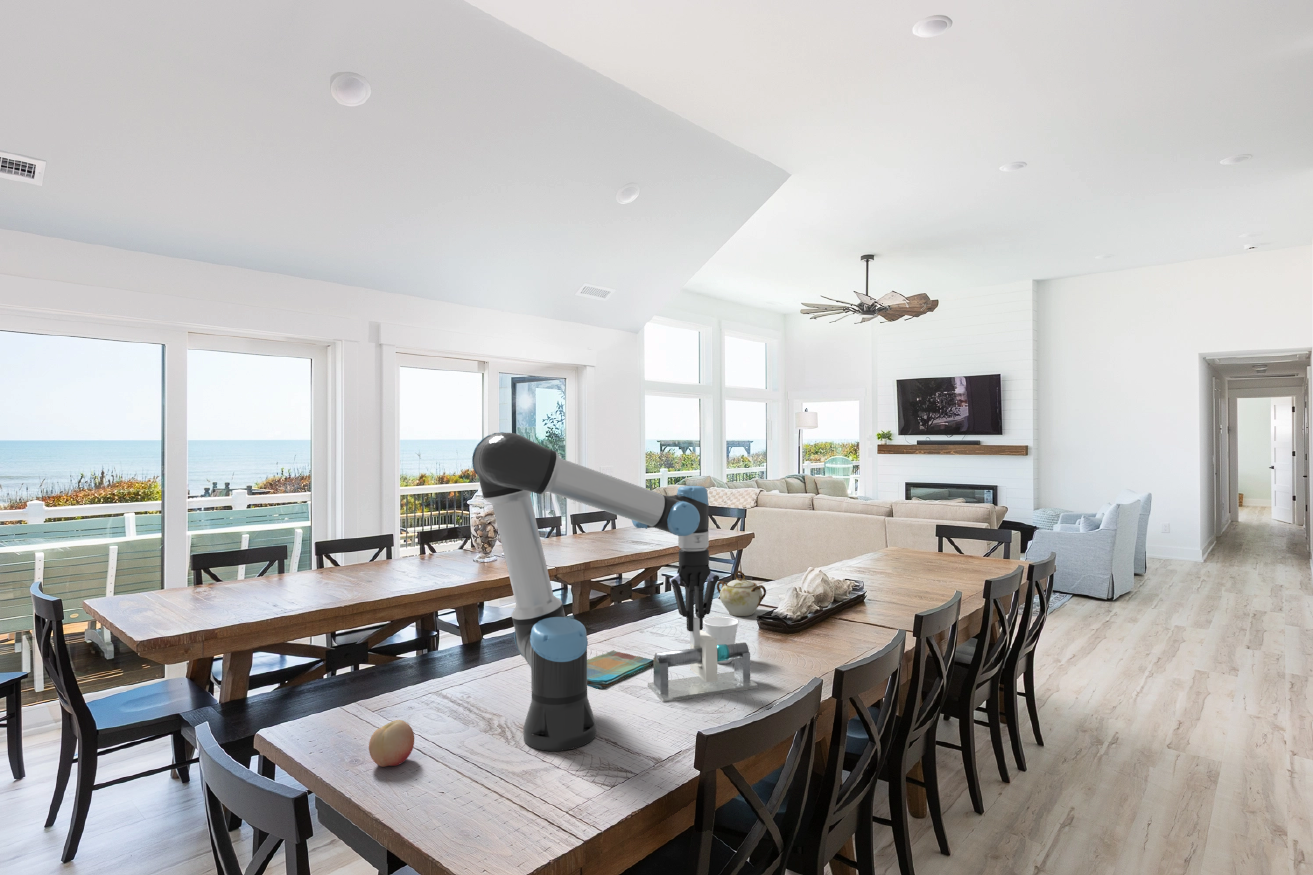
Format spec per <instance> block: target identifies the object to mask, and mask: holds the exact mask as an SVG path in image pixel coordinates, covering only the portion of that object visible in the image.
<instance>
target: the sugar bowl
mask: <svg viewBox="0 0 1313 875" xmlns="http://www.w3.org/2000/svg"><path fill="white" fill-rule="evenodd" d="M738 574H740V575H741V576H742V577H740V578H739V576H738ZM734 576H735V579H734V580H731V581H729V582H727V581H724V580H720V581H719V580H718V582H717V583H716V589H717V591H718V593H719V599H720V601H721V603H722V605H723V606H724V608H725V609H726V610H727V612H728V613H729V615H731V616H736V617H749V616H752V615H755V614H754V613H755V611H756V610H758V607H759V606H760V605H761V602H762V601H763V600H764V598H765V597H766V595H767V589H766V587H765V586H764V585H762V584H761V585H760V584H759V585H757V583H756V582H753V581H751V580H748V579H746V575H745V573H744V572H742V571H741V570H737V571H736V572H735V575H734ZM720 585H721V588H720Z"/></svg>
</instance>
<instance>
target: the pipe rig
mask: <svg viewBox="0 0 1313 875" xmlns="http://www.w3.org/2000/svg"><path fill="white" fill-rule="evenodd" d="M653 656H654V657H653V658H652V659H653V666H652V667H653V682H648V683H647V687H648V688H649V689H650V690H651V691H652V693H653V694H655V695H656V696H657V698H659V700H660V701H661V702H662V703H665V702H666V703H667V702H672V701H673V702H674V701H679V700H687V699H692V698H699V697H705V696H706V697H708V696H712V695H719V694H726V693H727V694H728V693H733V692H734V693H735V692H740V691H741V692H742V691H747V690H755V689H758V688H759V685H758V684H757V683H756V682H755V681H753V680H751V652H750V649H749V645H748V644H747V642H737V643H736V642H735V644H727V645H726V644H721V645H717V662H719V661H727V660H728V659H732V660H733V663H734V664H733V665H734V666H733V669H734V671H727V672H720V673H717V681H713V682H705V681H704V680H703V679H701V678H700V677H699V676H698V675H696V676H691V677H690V676H689V677H685V678H683V677H681V678H677V679H670V680H669V668H672V667H680V666H687V665H688V666H690V664H697V663H702V648H694V649H690V648H688V649H679V650H672V651H663V652H655V654H654V655H653Z"/></svg>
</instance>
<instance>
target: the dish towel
mask: <svg viewBox="0 0 1313 875" xmlns="http://www.w3.org/2000/svg"><path fill="white" fill-rule="evenodd" d="M651 667H653V658H652V659H651V658H647V657H643V656H639V655H633V654H630V653H627V652H626V653H625V652H620V651H618V650H617V651H616V650H611V651H608V652H606V653H603V654H599V655H596V656H594V657H591V658H587V687H590V688H594V689H597V690H603V689H607V688H608V687H611V686H612V685H615V684H616V683H617V682H620V681H622V680H624V679H626V678H628V677H630V676H633V675H635V674H637V673H639V672H641V671H642V672H643V671H644V670H646V669H648V668H651Z"/></svg>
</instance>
